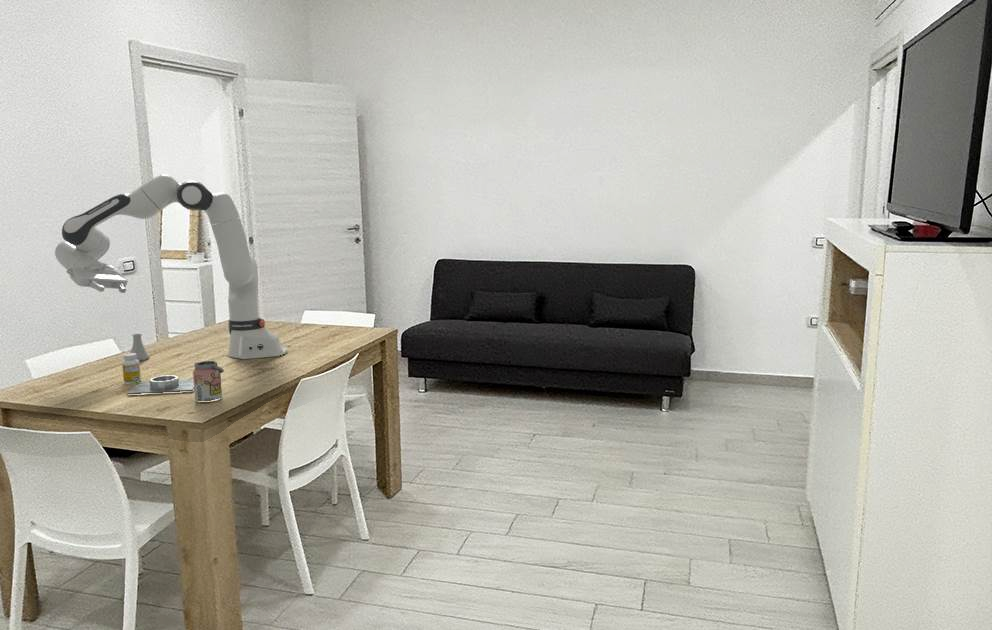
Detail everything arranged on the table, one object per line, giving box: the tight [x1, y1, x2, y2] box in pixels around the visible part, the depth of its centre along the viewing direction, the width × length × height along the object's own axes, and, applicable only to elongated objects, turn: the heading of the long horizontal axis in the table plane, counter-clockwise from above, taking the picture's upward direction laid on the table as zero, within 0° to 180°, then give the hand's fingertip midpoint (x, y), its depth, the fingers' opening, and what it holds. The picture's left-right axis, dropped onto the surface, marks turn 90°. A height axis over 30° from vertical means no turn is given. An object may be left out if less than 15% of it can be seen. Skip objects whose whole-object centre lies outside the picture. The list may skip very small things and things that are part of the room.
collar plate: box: [126, 374, 194, 395], centre depth 264 cm, size 20×14×4 cm
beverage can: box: [192, 360, 224, 402], centre depth 250 cm, size 9×8×12 cm
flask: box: [130, 333, 151, 362], centre depth 305 cm, size 7×7×10 cm
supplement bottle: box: [121, 352, 142, 384], centre depth 273 cm, size 5×5×10 cm
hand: (113, 290), depth 281 cm, fingers open, 8 cm apart
